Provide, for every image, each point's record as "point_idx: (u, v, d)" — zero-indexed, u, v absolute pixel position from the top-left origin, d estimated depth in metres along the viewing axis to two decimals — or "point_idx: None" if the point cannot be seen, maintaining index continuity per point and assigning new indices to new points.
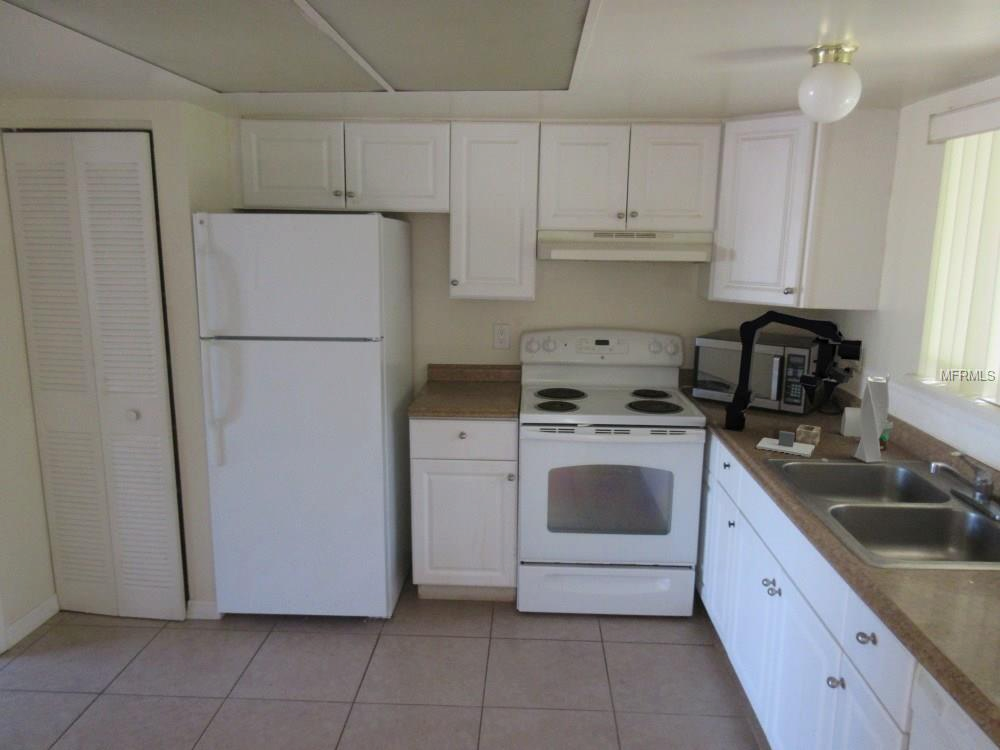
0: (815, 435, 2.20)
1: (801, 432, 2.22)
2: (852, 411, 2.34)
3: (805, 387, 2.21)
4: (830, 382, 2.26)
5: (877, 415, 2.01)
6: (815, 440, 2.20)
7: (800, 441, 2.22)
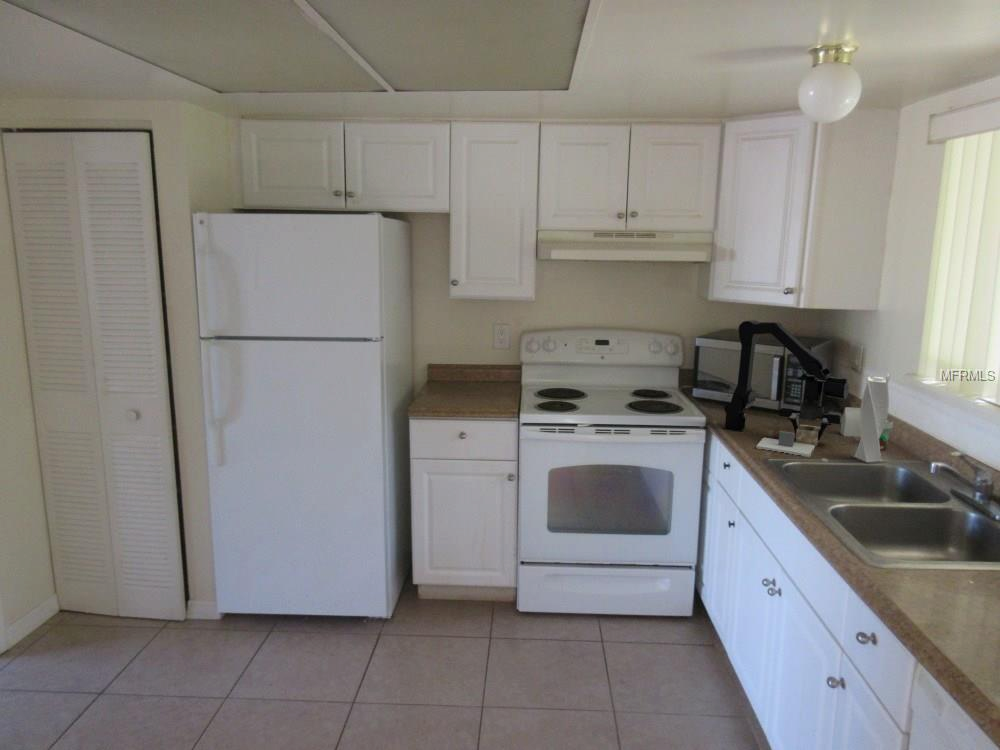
0: (815, 435, 2.20)
1: (801, 432, 2.22)
2: (852, 411, 2.34)
3: None
4: None
5: (877, 415, 2.01)
6: (815, 440, 2.20)
7: (800, 441, 2.22)
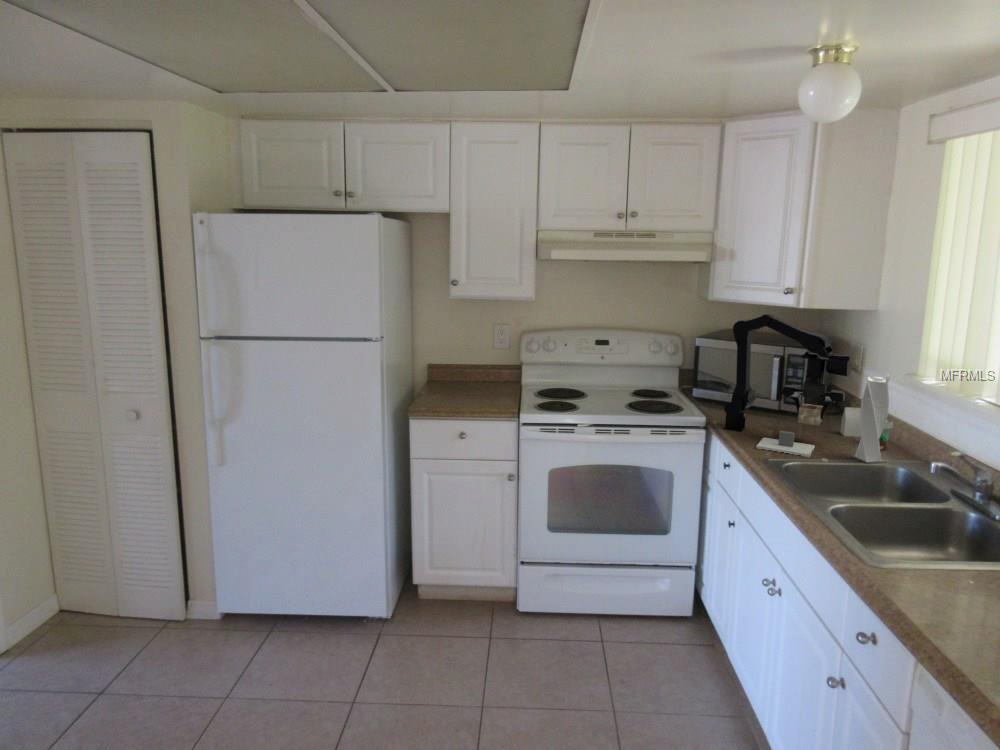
0: (818, 413, 2.18)
1: (804, 411, 2.20)
2: (852, 411, 2.34)
3: None
4: (825, 400, 2.21)
5: (877, 415, 2.01)
6: (818, 418, 2.18)
7: (803, 420, 2.21)
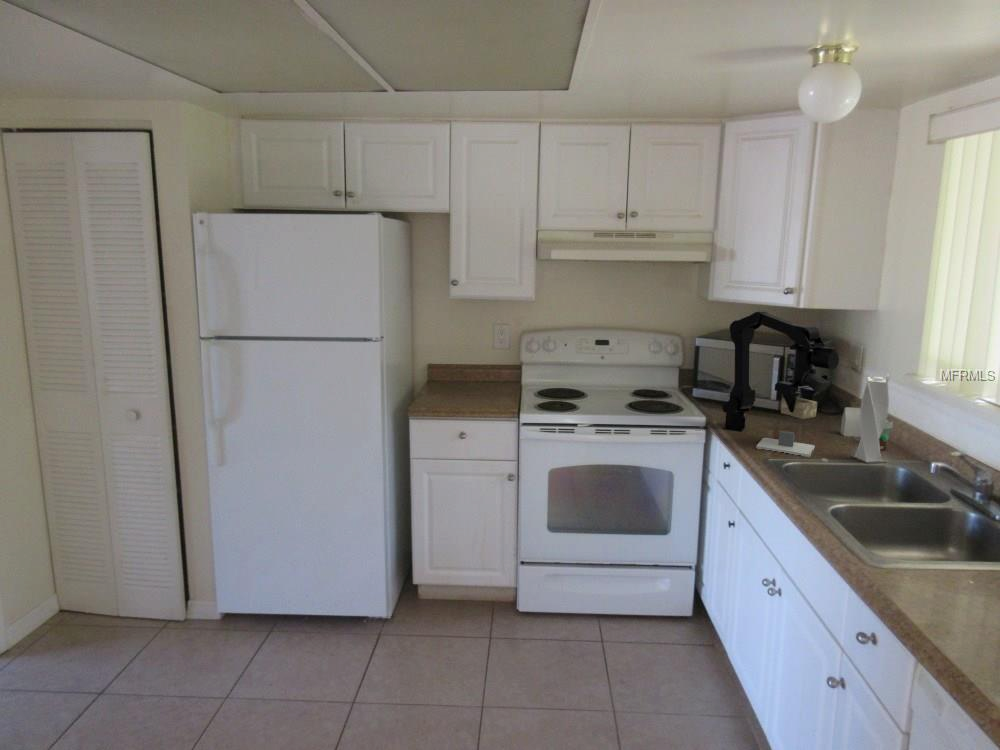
0: (815, 405, 2.16)
1: (807, 405, 2.14)
2: (852, 411, 2.34)
3: (784, 394, 2.17)
4: (807, 390, 2.19)
5: (877, 415, 2.01)
6: (815, 410, 2.16)
7: (806, 414, 2.14)
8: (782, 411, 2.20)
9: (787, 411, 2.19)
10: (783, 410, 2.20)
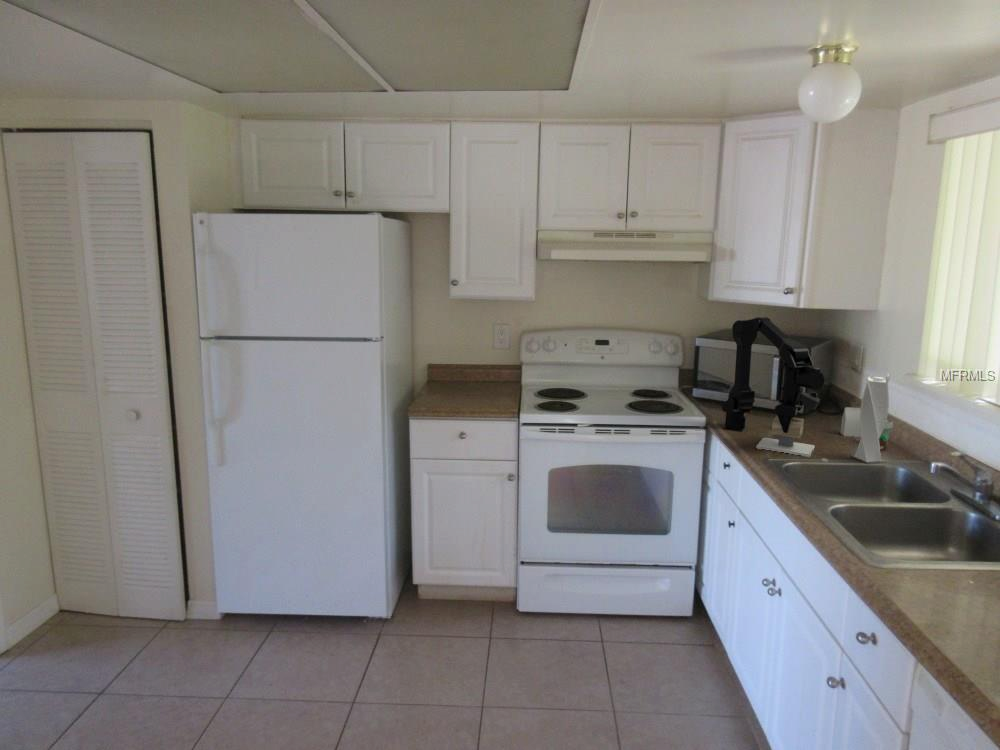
0: (803, 422, 2.16)
1: (801, 424, 2.13)
2: (852, 411, 2.34)
3: (779, 416, 2.12)
4: None
5: (877, 415, 2.01)
6: (802, 427, 2.17)
7: (800, 433, 2.13)
8: (773, 432, 2.16)
9: (779, 432, 2.15)
10: (774, 431, 2.16)
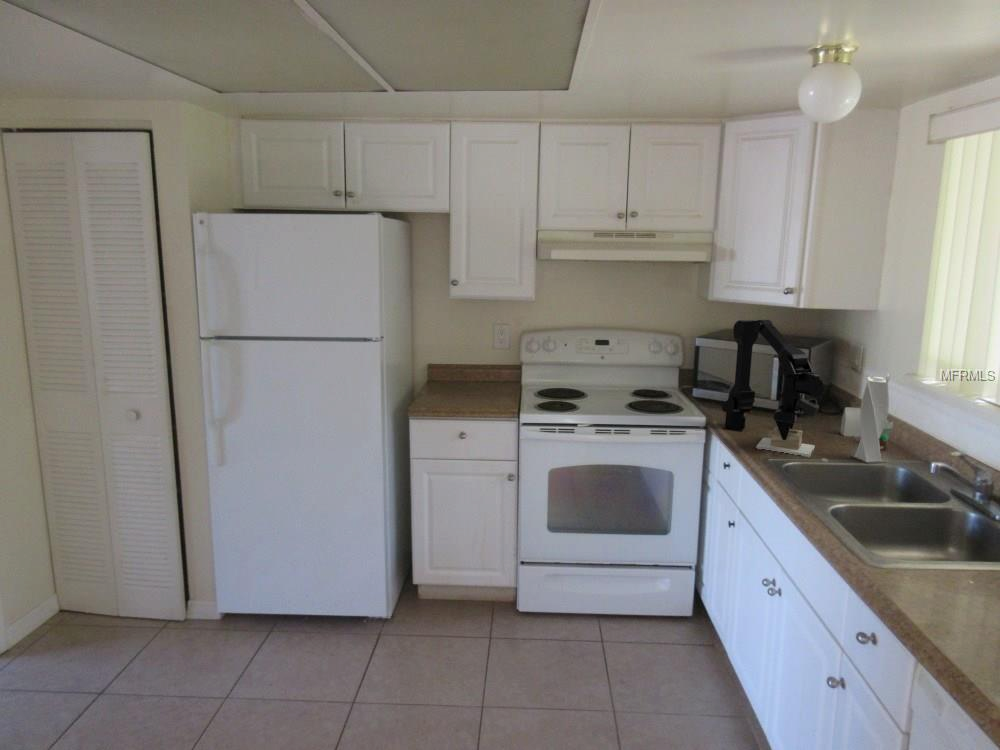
0: None
1: (800, 436, 2.13)
2: (852, 411, 2.34)
3: (778, 423, 2.12)
4: None
5: (877, 415, 2.01)
6: (801, 439, 2.17)
7: (799, 445, 2.14)
8: (772, 444, 2.17)
9: (778, 443, 2.16)
10: (773, 443, 2.17)
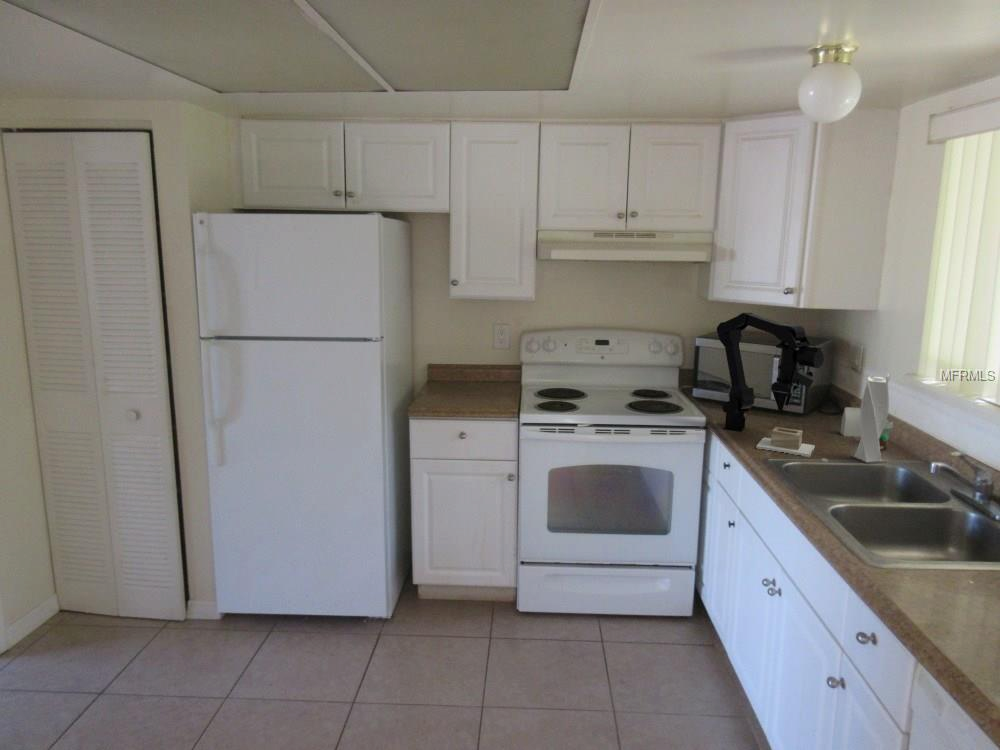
0: None
1: (800, 436, 2.13)
2: (852, 411, 2.34)
3: (775, 394, 2.19)
4: None
5: (877, 415, 2.01)
6: (801, 439, 2.17)
7: (799, 445, 2.14)
8: (772, 444, 2.17)
9: (778, 443, 2.16)
10: (773, 443, 2.17)
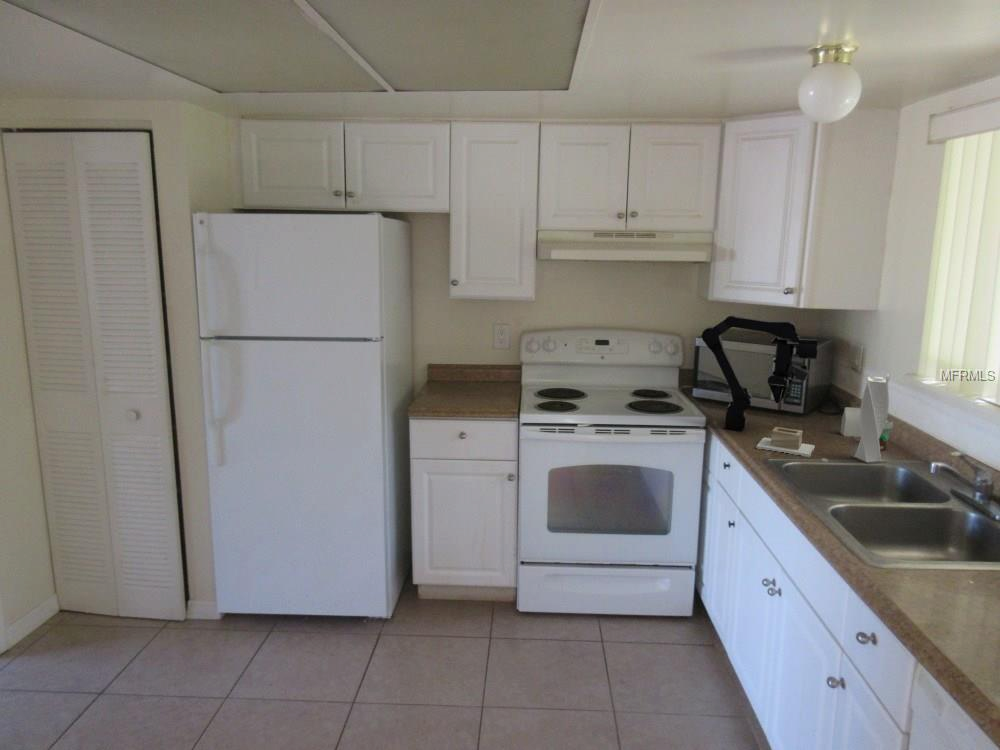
0: None
1: (800, 436, 2.13)
2: (852, 411, 2.34)
3: (771, 387, 2.28)
4: None
5: (877, 415, 2.01)
6: (801, 439, 2.17)
7: (799, 445, 2.14)
8: (772, 444, 2.17)
9: (778, 443, 2.16)
10: (773, 443, 2.17)
